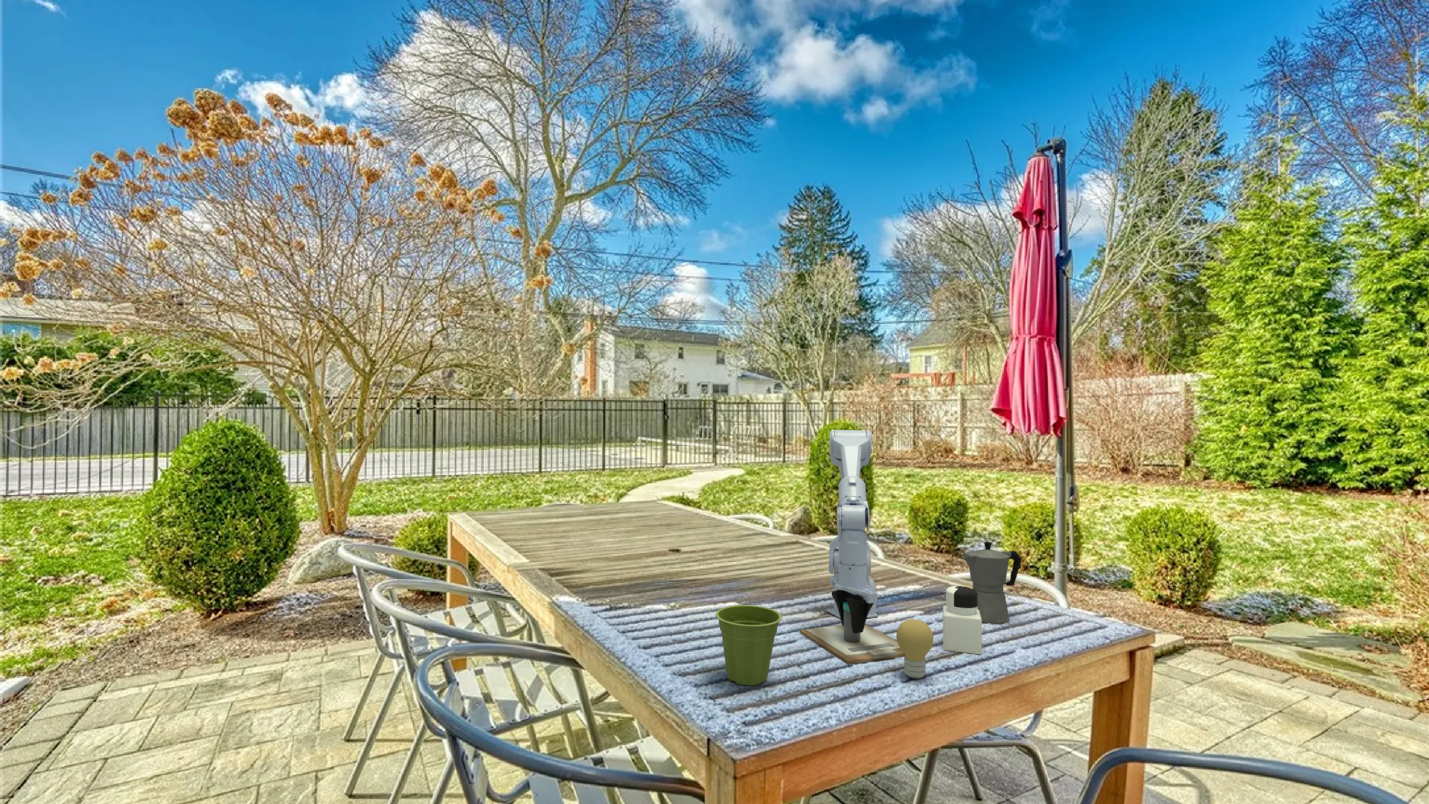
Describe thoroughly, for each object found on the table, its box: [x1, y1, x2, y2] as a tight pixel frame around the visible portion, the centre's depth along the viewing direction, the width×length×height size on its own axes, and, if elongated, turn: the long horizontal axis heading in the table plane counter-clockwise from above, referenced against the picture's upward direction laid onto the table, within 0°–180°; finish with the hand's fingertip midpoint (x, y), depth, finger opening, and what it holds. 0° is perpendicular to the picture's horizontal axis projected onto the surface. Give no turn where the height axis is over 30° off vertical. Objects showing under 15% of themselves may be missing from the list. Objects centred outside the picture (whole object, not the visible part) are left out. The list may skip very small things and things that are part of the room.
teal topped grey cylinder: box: [843, 601, 861, 642], centre depth 129 cm, size 4×4×7 cm
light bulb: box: [896, 618, 934, 679], centre depth 113 cm, size 6×6×10 cm
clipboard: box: [799, 623, 905, 666], centre depth 129 cm, size 16×20×1 cm
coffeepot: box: [961, 541, 1022, 625], centre depth 148 cm, size 15×9×18 cm, turn 101°
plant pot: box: [715, 604, 783, 687], centre depth 111 cm, size 12×12×11 cm
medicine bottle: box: [942, 585, 983, 655], centre depth 128 cm, size 7×7×12 cm
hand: (852, 629), depth 129 cm, fingers closed on teal topped grey cylinder, 3 cm apart
